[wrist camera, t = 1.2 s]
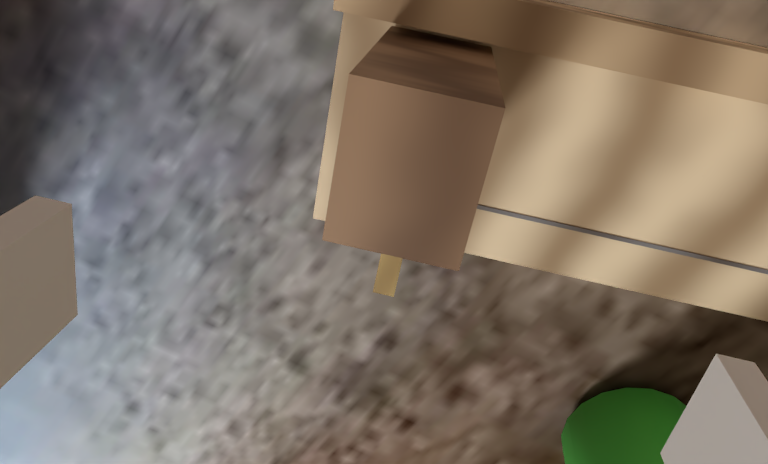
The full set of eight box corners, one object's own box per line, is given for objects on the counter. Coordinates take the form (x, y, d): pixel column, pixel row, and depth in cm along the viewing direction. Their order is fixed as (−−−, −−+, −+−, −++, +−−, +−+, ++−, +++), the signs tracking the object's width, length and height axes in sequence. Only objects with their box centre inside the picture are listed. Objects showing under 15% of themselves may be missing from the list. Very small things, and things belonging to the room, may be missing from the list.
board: (317, 209, 36) (300, 241, 32) (355, -41, 30) (339, -39, 26) (812, 322, 35) (853, 367, 31) (959, 89, 29) (1033, 111, 25)
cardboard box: (347, 265, 36) (295, 405, 25) (392, 25, 30) (349, 73, 19) (428, 284, 36) (412, 433, 25) (491, 46, 29) (505, 108, 19)
